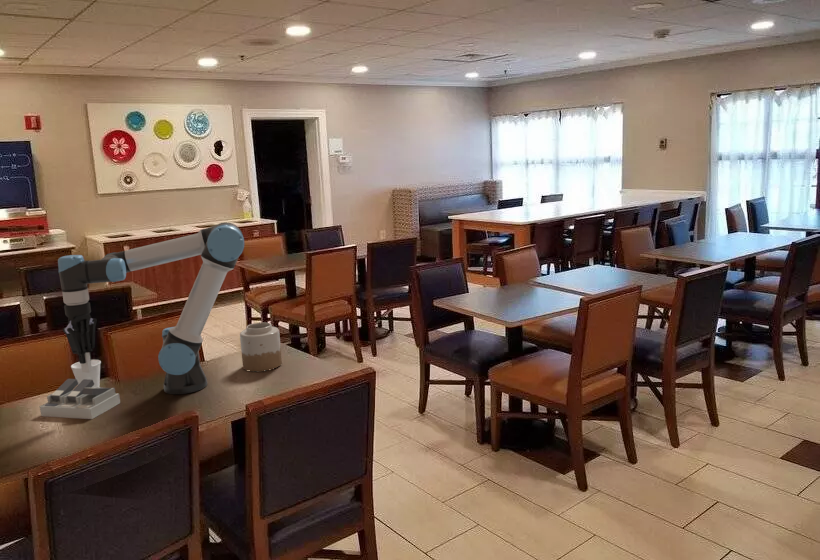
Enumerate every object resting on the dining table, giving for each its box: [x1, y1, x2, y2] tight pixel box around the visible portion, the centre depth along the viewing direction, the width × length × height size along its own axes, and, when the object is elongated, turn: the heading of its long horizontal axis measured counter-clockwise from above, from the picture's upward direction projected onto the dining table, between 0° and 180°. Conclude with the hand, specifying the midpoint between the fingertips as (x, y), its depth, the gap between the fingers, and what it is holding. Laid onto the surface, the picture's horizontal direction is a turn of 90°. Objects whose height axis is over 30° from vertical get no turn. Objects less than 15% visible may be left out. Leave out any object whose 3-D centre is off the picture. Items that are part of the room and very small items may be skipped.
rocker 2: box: [67, 379, 94, 402], centre depth 220 cm, size 4×9×2 cm, turn 166°
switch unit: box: [39, 386, 121, 420], centre depth 219 cm, size 20×14×6 cm
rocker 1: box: [50, 378, 79, 401], centre depth 221 cm, size 4×9×2 cm, turn 166°
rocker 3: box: [83, 387, 112, 395], centre depth 218 cm, size 4×9×2 cm, turn 166°
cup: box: [70, 359, 102, 388], centre depth 235 cm, size 10×10×11 cm
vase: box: [239, 322, 283, 372], centre depth 256 cm, size 15×15×17 cm
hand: (87, 371), depth 214 cm, fingers closed
